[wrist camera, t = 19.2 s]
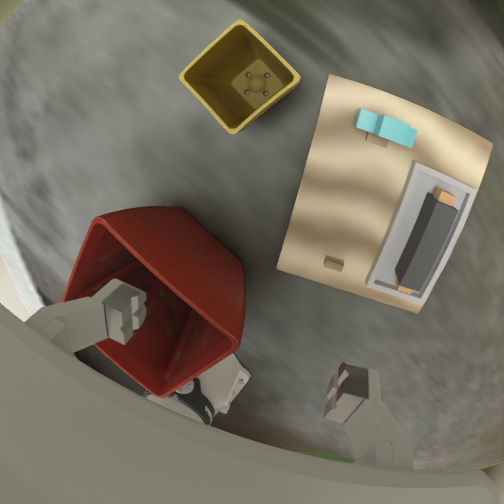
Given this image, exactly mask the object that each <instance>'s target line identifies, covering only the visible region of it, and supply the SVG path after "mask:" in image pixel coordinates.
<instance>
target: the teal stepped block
mask: <svg viewBox="0 0 504 504" xmlns="http://www.w3.org/2000/svg"><path fill="white" fill-rule="evenodd" d="M353 126H355V127H357V128H360V129H363V130H365V131H368V132H371V133H374V134H376V135H378V136H380V137H383V138H386V139H388V140H391V141H394V142H396V143H399V144H401V145H405V146H408V147H410V148H412V146H413V143H414V140H415V136H416V133H417V130H416V129H414V128H412V127H409V126H410V125H409V124H407V123H405V122H402V121H400V120H397V119H394V118H392V117H389V116H387V115H378V114H376V113H373V112H370V111H367V110H364V109H357V112H356V116H355V120H354V123H353Z"/></svg>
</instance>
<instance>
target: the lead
mask: <svg viewBox="0 0 504 504" xmlns="http://www.w3.org/2000/svg"><path fill="white" fill-rule="evenodd" d="M455 198H456V197H455V196H454V195H452V194H451V193H450V192H448V191H446V190H443V189H441V188H439V187H437V186H436V189H435V192H434V194H431V193H428V192H427V194H426V197H425V199H424V202H423V205H422V207H421V210H420V212H419V215H418V217H417V220H416V222H415V224H414V227H413V229H412V232H411V234H410V236H409V239H408V241H407V243H406V245H405V248H404V250H403V252H402V254H401V257H400V259H399V261H398V263H397V265H396V267H395V273H396V276H397V279H396V281H395V283H396V287H397V290H398V291H402V292H405V293H408V294H411V293H412V291H413V290H414V291H417V292H420V291H421V289H422V287H423V285H424V283H425V281H426V279H427V278H428V276H429V274H430V272H431V270H432V268H433V266H434V264H435V262H436V260H437V258H438V256H439V254H440V252H441V249H442V247H443V245H444V243H445V241H446V239H447V237H448V234H449V232H450V230H451V227H452V225H453V223H454V220H455V218H456V216H457V213H458V210H457V209H456V208H455V207H454V206H453V203H454V200H455Z"/></svg>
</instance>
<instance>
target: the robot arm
mask: <svg viewBox="0 0 504 504" xmlns="http://www.w3.org/2000/svg"><path fill="white" fill-rule="evenodd" d="M145 301H146V293H145V292H144V291H142V290H140V289H138V288H135V287H133V286H131V285H129V284H127V283H124V282H122V281H120V280H118V279H112V280H111V281H110V282H109V283H107V284H106V285H105V286H104V287H103V288H102V289H101V290H99V291H98V292H97V293H96V294H95V295H94V296H93V297H91V298H90V297H84V298H80V299H76V300H71V301H67V302H63V303H59V304H54V305H50V306H46V307H42V308H41V309H39V310H38V311H37V312H36V313H35V314H33V315H32V316H31V317H30V318H29V319H28V320H27V321H25V322H23V321H22V320H20V319H19V318H18V317H16V316H15V315H14V314H13V313H11V312H10V311H9V310H8V309H7V308H5V307H4V306H3V305H2V304H1V303H0V504H501V501H500V495H499V492H498V490H497V489H496V487H495V486H494V484H493V483H492V481H491V480H490V478H489V477H488V476H487V475H486V474H485V473H484V472H483V471H480V470H465V471H422V470H413V448H412V443H411V442H410V440H409V439H408V437H407V436H406V434H405V433H404V431H403V430H402V428H401V427H400V425H399V424H398V422H397V421H396V419H395V418H394V416H393V415H392V413H391V412H390V411H389V409H388V408H387V406H386V405H385V403H382V402H381V387H380V372H379V370H376V369H371V368H366V367H363V366H359V365H355V364H351V363H348V362H343V363H342V364H341V365H340V367H339V371H338V373H337V374H335V375H334V376H333V378H332V379H331V381H330V384H329V386H328V390H327V398H328V400H329V401H328V402H327V404H326V405H325V412H324V419H327V420H331V421H335V422H339V423H343V426H344V428H345V431H346V433H347V435H348V438H349V440H350V442H351V445H352V447H353V449H354V452H355V454H356V456H357V460H356V461H354V462H353V463H352V464H351V463H345V462H339V461H334V460H328V459H323V458H318V457H313V456H309V455H304V454H300V453H296V452H292V451H288V450H284V449H280V448H277V447H273V446H270V445H266V444H263V443H259V442H256V441H253V440H249V439H246V438H243V437H240V436H237V435H234V434H231V433H228V432H225V431H223V430H220V429H217V428H214V427H212V426H210V424H211V422H212V419H213V417H214V416H215V415H216V414H217V413H218V412H219V411H220V412H222V413H224V414H226V413H227V412H228V410H229V408H230V403H231V402H232V400H233V399H234V398H235V397H236V395H237V394H238V393H239V392H240V391H241V389H242V388H243V387H244V385H245V384H246V383H247V382H248V380H249V379H250V377H251V375H250V373H249V372H248V371H247V370H246V369H245V368H244V367H242V366H241V364H240V363H239V361H238V359H237V358H236V356H235V355H234V353H232V354H231V355H229V356H228V357H226V358H225V359H223V360H222V361H220V362H219V363H217V364H216V365H214V366H213V367H211V368H209V369H208V370H206V371H205V372H203V373H202V374H200V375H199V376H197V377H196V378H194V379H192V380H191V381H189V382H188V383H186V384H185V385H183V386H182V387H180V388H179V389H177V390H176V391H174V392H173V393H171V394H169V395H168V396H166V397H165V398H159V397H156V396H155V395H153V394H152V393H150V392H149V391H148V390H146V392H145V394H144V396H141V395H139V394H137V393H135V392H133V391H131V390H129V389H127V388H125V387H123V386H121V385H119V384H118V383H116V382H114V381H112V380H110V379H109V378H107V377H105V376H103V375H102V374H100V373H98V372H96V371H95V370H93V369H91V368H90V367H88V366H86V365H85V364H83V363H82V362H80V361H78V360H77V359H75V358H74V355H73V352H76V351H78V350H80V349H83V348H85V347H88V346H90V345H92V344H95V343H97V342H100V341H102V340H104V339H107V338H108V337H109V338H111V339H113V340H115V341H117V342H119V343H121V344H124V345H125V344H126V343H127V342H128V341H129V339H130V338H131V337H132V336H133V330H135V329H139V327H140V326H141V325H142V324H143V321H144V319H145V317H146V307H145V305H144V302H145Z"/></svg>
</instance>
